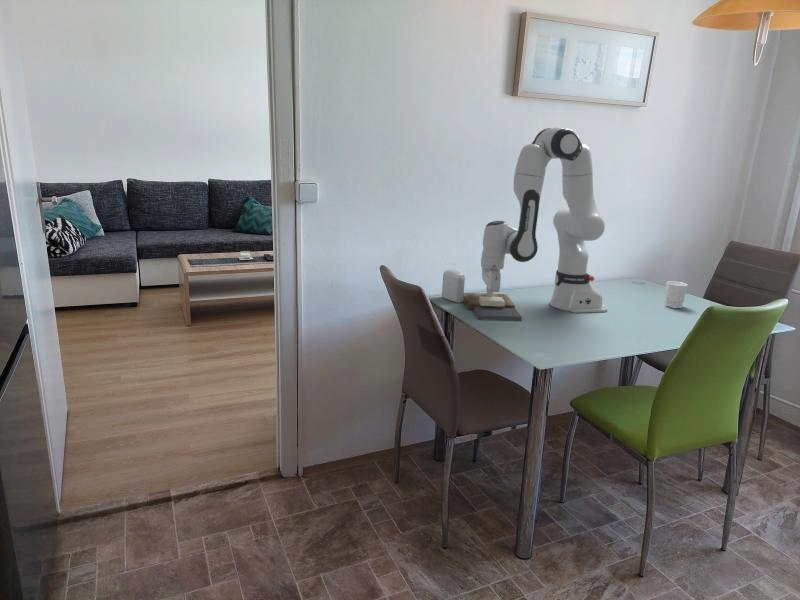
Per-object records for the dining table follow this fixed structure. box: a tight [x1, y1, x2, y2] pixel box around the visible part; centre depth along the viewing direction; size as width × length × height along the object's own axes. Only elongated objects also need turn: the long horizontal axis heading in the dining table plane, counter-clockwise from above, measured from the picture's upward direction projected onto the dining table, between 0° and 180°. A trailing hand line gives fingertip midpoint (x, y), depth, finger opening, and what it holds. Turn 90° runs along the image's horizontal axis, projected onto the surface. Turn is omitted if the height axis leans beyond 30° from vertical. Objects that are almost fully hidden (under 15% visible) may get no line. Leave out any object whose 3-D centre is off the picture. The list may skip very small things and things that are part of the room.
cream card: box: [479, 296, 505, 307], centre depth 225 cm, size 9×6×2 cm, turn 91°
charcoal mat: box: [473, 307, 523, 322], centre depth 219 cm, size 16×11×2 cm
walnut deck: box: [463, 292, 516, 311], centre depth 232 cm, size 18×16×2 cm
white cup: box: [664, 280, 689, 308], centre depth 240 cm, size 8×8×10 cm
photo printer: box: [441, 269, 466, 304], centre depth 236 cm, size 10×4×12 cm, turn 38°
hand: (489, 297), depth 229 cm, fingers closed
